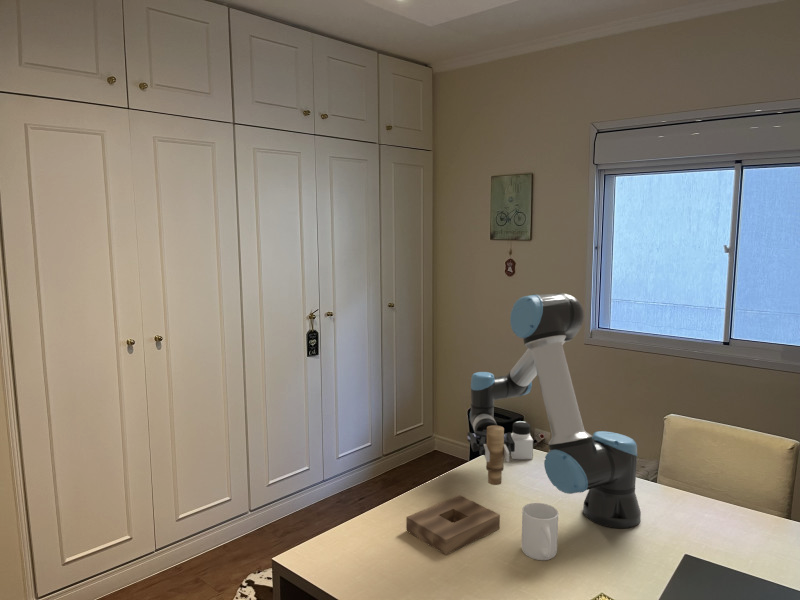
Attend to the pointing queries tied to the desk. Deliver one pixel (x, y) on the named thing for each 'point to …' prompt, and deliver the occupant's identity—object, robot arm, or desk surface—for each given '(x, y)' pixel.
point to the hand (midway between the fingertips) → (498, 457)
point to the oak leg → (495, 454)
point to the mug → (539, 531)
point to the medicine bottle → (522, 441)
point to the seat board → (452, 524)
